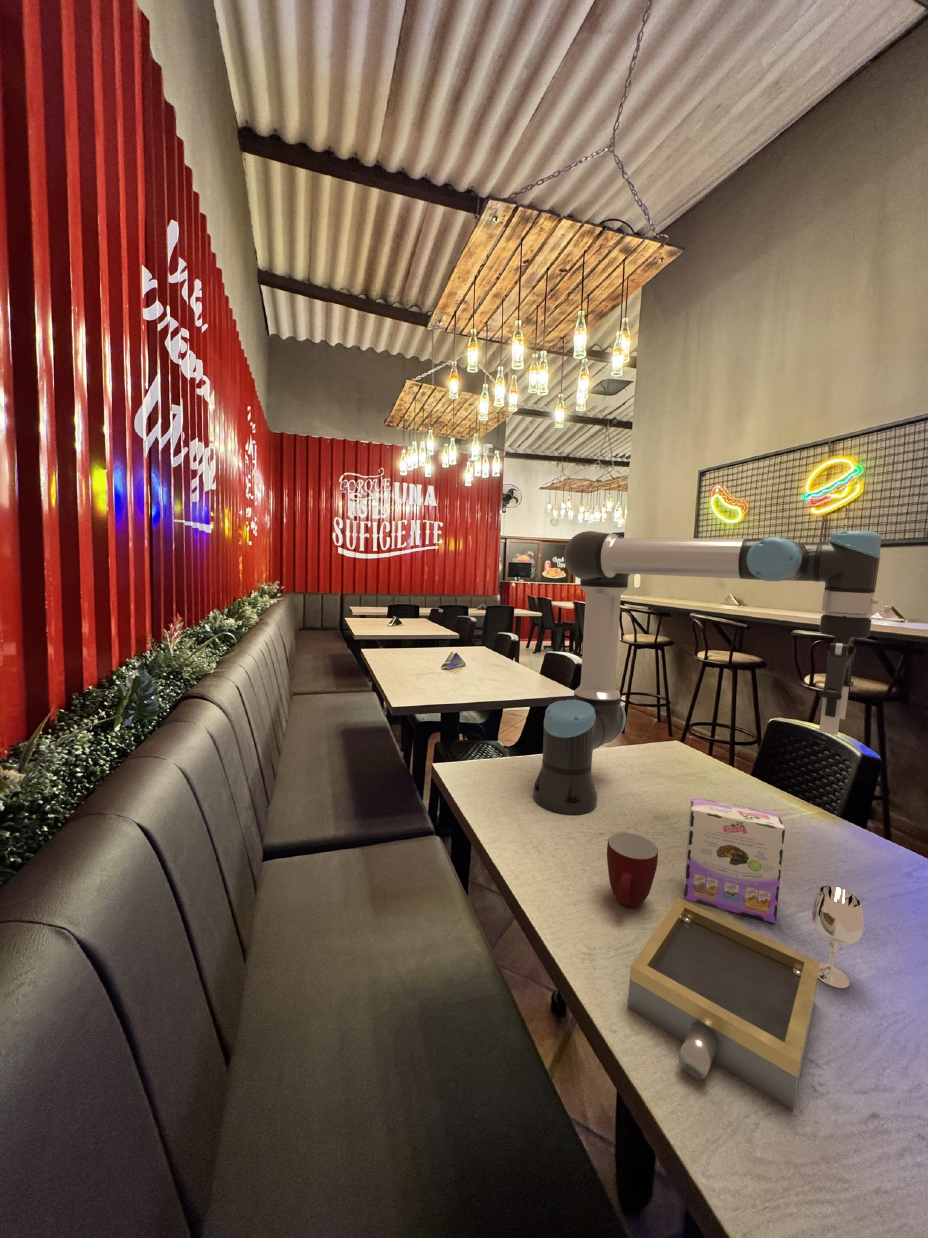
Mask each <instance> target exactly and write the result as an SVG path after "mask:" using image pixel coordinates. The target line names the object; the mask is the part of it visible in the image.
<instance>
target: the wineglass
mask: <svg viewBox="0 0 928 1238" xmlns="http://www.w3.org/2000/svg"><path fill="white" fill-rule="evenodd" d="M811 919H812V923H813V925H814V926H815V928H816V930H817V931H818V932H819V933H820V934H821V935H822V936H824V938H826V939H827V940H829V942H828V947H829V953H830V955H829V959H828V960H829V962H828V963H826V962H824V961H823V962H821V961H819V962H820V965H819V973H818V980H820V981H822V982H823V983H824V984H826V985H828V986H831V987H834V988H837V989H846V988H848V987H849V986H850V980H849V977H848V976H847V975H846V973H844V972H843V971H842V970H841V969H840V968H837V967H836V966H834V962H835V961H834V960H835V955H836V952H837V951H838V949H839V944H841V945H853V944H855V943H857V942H858V941H859V940H860V939H861V937H862V935H863V932H864V925H865V923H864V912H863V906H862V902H861V899H859V897H857V895H855V894H853V893H851V892H850V891H849V890H846V889H845V888H843V887H838V886H835V885H829V884H828V885H822V886H820V887H819V889H818V890H817V893H816V894H815V897H814V899H813V903H812V907H811Z"/></svg>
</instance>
